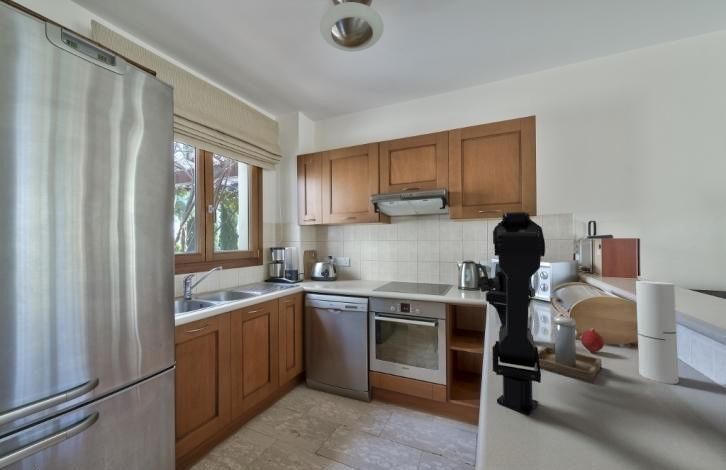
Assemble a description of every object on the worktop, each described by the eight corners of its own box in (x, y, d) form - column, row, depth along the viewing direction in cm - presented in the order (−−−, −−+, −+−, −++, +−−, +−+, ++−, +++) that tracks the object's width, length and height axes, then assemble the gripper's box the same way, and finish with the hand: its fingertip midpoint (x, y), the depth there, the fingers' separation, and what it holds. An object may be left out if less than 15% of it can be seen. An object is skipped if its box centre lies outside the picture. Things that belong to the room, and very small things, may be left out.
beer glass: (533, 346, 97) (532, 302, 98) (511, 341, 101) (510, 300, 102) (535, 340, 103) (534, 299, 103) (514, 337, 107) (513, 297, 108)
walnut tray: (591, 383, 70) (591, 373, 70) (530, 365, 81) (529, 357, 81) (601, 367, 80) (601, 359, 80) (545, 353, 90) (544, 345, 90)
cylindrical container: (687, 385, 70) (682, 284, 71) (653, 382, 71) (649, 283, 72) (662, 372, 77) (659, 281, 78) (632, 370, 78) (629, 280, 79)
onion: (577, 351, 93) (576, 326, 93) (587, 348, 95) (586, 324, 95) (598, 357, 87) (597, 331, 88) (608, 354, 90) (607, 329, 90)
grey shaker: (579, 369, 77) (578, 321, 77) (557, 366, 79) (556, 319, 79) (572, 361, 82) (571, 317, 82) (552, 359, 83) (551, 315, 84)
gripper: (495, 265, 88) (496, 315, 88) (466, 267, 76) (466, 325, 75) (535, 267, 80) (536, 322, 79) (509, 270, 68) (510, 335, 67)
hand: (512, 325), depth 75 cm, fingers open, 9 cm apart
